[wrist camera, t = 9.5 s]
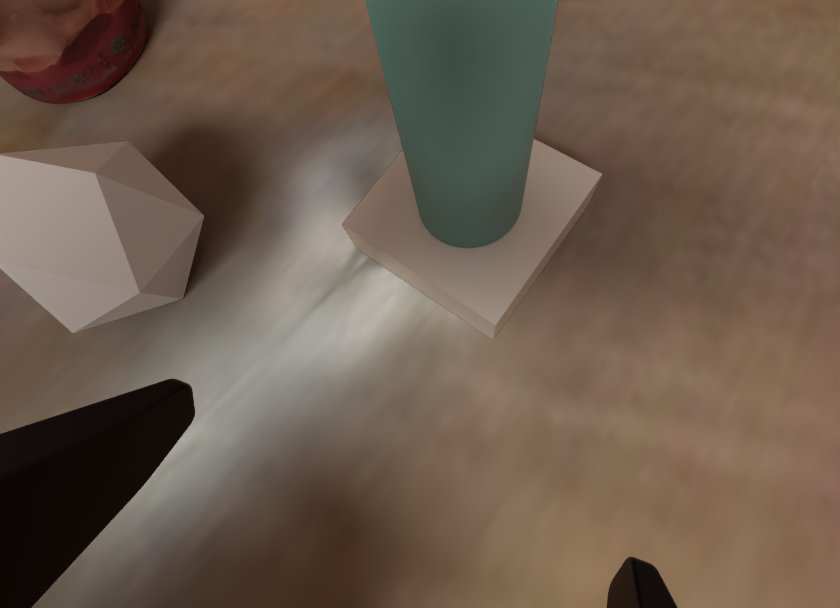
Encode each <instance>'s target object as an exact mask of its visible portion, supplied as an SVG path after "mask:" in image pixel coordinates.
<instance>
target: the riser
mask: <svg viewBox="0 0 840 608" xmlns="http://www.w3.org/2000/svg"><path fill="white" fill-rule="evenodd" d="M601 176H602V174H601V173H599V172H597V171H595V170H594V169H592V168H590V167H588V166H586V165H584V164H582V163H580V162H578V161H576V160H574V159H572V158H570V157H568V156H566V155H565V154H563V153H561V152H559V151H557V150H555V149H553V148H551V147H549V146H547V145H545V144H543V143H541V142H539V141H537V140H535V139H534V140H533V146H532V151H531V157H530V163H529V168H528V174H527V180H526V185H525V191H524V197H523V202H522V208H521V212H520V215H519V218H518V220H517V221H516V223H515V225H514V226H513V227H512V229H511V230H510V231H509V232H508V233H507V234H506V235H504V236H503V237H502V238H500V239H499V240H497V241H496V242H493V243H491V244H489V245H486V246H482V247H477V248H459V247H454V246H451V245H448V244H446V243H443V242H441V241H440V240H438V239H436V238H435V237H434V236H433V235H432V234H431V233H430V232H429V231H428V230H427V229H426V227H425V226H424V224H423V222H422V220H421V218H420V215H419V211H418V207H417V203H416V199H415V195H414V191H413V187H412V183H411V179H410V176H409V172H408V168H407V164H406V160H405V156H404V152H403V150H402V151H401V152H400V154H399V155H398V156H397V157H396V158H395V160H394V161H393V162H392V163H391V165H390V166H389V167H388V168H387V169H386V171H385V172H384V173H383V174H382V176H381V177H380V178H379V179H378V181H377V182H376V183H375V184H374V185H373V187H372V188H371V189H370V190H369V192H368V193H367V194H366V195H365V196H364V198H363V199H362V200H361V201H360V203H359V204H358V205H357V206H356V208H355V209H354V210H353V211H352V212H351V214H350V215H349V216H348V217H347V219H346V220H345V221H344V222H343V223H342V225H343V227H344V229H345V230H346V232H347V234H348V235H349V237H350V238H351V240H352V242H353V243H354V245H355V247H356V248H357V249H358V250H359V251H361V252H362V253H364V254H365V255H367V256H368V257H370V258H371V259H373V260H374V261H376V262H377V263H379V264H380V265H382V266H383V267H385V268H386V269H388V270H389V271H391V272H392V273H394V274H395V275H397V276H398V277H400V278H401V279H403V280H404V281H406V282H407V283H409V284H410V285H412V286H413V287H415V288H416V289H418V290H419V291H421V292H422V293H424V294H425V295H427V296H428V297H429V298H431V299H432V300H434V301H435V302H437V303H438V304H440V305H441V306H443V307H444V308H446V309H447V310H449V311H450V312H452V313H453V314H455V315H456V316H458V317H459V318H461V319H462V320H464V321H465V322H467V323H468V324H470V325H471V326H473V327H474V328H476V329H477V330H479V331H480V332H482V333H483V334H485V335H486V336H488V337H489V338H491V339H492V340H494V338H495V337H496V335H497V334H498V333H499V331H500V330H501V328H502V327H503V325H504V324H505V323H506V321H507V320H508V318H509V317H510V315H511V314H512V313H513V311H514V310H515V308H516V307H517V306H518V304H519V303H520V301H521V300H522V298H523V297H524V296H525V294H526V293H527V291H528V290H529V288H530V287H531V286H532V284H533V283H534V281H535V280H536V279H537V277H538V276H539V274H540V273H541V271H542V270H543V269H544V267H545V266H546V264H547V263H548V261H549V260H550V259H551V257H552V256H553V254H554V253H555V252H556V250H557V249H558V247H559V246H560V244H561V243H562V242H563V240H564V239H565V237H566V236H567V234H568V233H569V232H570V230H571V229H572V227H573V226H574V224H575V223H576V222H577V220H578V219H579V217H580V216H581V215H582V213H583V212H584V210H585V209H586V207H587V206H588V204H589V202H590V200H591V198H592V196H593V193H594V191H595V189H596V187H597V185H598V183H599V180H600V178H601Z"/></svg>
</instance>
